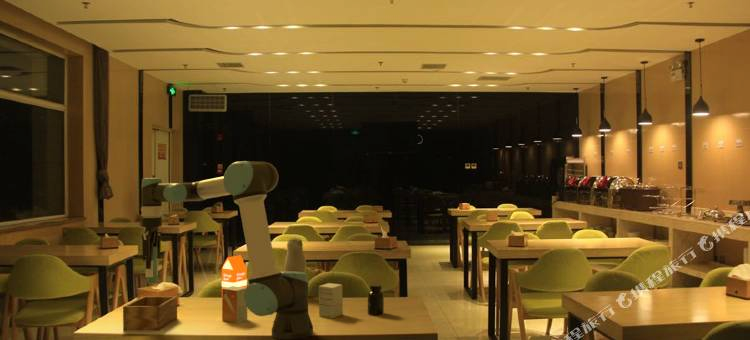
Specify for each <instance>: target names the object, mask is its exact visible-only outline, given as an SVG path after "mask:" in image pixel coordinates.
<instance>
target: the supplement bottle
mask: <svg viewBox="0 0 750 340" xmlns="http://www.w3.org/2000/svg"><path fill="white" fill-rule="evenodd" d="M382 289H383V287H382V284H378V283H375V284H374V283H372V284H370V285H369V290H370V291H368V292H367V314H368V315H369V316H382V315H383V314H384V312H385V294H384V292H383V290H382Z"/></svg>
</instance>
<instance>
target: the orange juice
mask: <svg viewBox="0 0 750 340" xmlns="http://www.w3.org/2000/svg"><path fill="white" fill-rule="evenodd" d="M247 268H248V267H247V266H246V264H245V262H244V260H243V257H242V255H241V254H238V255H236V256H235V255H233V256H229V257H227V258H226V260H225V261H224V263H223V266H222V267H221V290H222V289H223V288H227V287H231V286H235V287H243V288H247V287H248V278H247Z"/></svg>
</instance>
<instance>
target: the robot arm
mask: <svg viewBox="0 0 750 340" xmlns="http://www.w3.org/2000/svg"><path fill="white" fill-rule="evenodd" d="M278 182H279V174H278V169H277V168H276V167H275V166H274V165H273V164H272V163H270V162H266V161H249V160H248V161H247V160H242V161H241V160H240V161H235V162H232V163H231V164H230V165H229V166H228V167H227V169H226V170H225V172H224V174H223V176H219V177H214V178H209V179H208V178H207V179H204V180H199V181H195V182H193V181H192V182H163V180H162V177H161V178H160V177H143V178H142V179H141V188H140V189H141V208H140V211H141V216H142V217H141V227H142V228H145V230H144V234H141V240H142V241H141V242H142V247H141V248H142V261H143V262H144V261H145V263H144V264H145V265H144V267H145V269H144V270H145V274H144V275H145V278H146V277H153V260H152V252H153V246H156V247H157V276H158V275H159V259H161V245H162V244H161V243H162V241H161V239H162V238H161V237H162V231H161V230H160V231H159V228H160V227H162V226H163V224H162V223H163V219H162V216H163V204H162V203H169V204H179V203H182V202H201V201H205V200H207V199H212V198H213V199H214V198H219V197H223V196H229V195H231V196H232V198H233V202H234V204H236V205H238V207H239V212H240V218H241V223H242V228H243V235H244V239H245V245H246V251H247V256H248V262H249V263H248V264H249V267H250V275H248V278H247V283H248V285H247V288H246V291H245V292H244V300H245V304H246V306H247V310H249V312H251V313H253V314H254V315H255V316H259V317H266V316H270V315H273V314H275V313H276V314H275V317H274V321H273V324H272V327H271V336H272V337H273V338H274V339H278V340H302V339H305V338H309V337H311V336H313V334H314V326H313V323H312V321H311V320H312V319H311V317H310V313H309V278H308V274H307V272H306V273H304V272H294V271H285V270H279V269H278V268H277V267H276V262H275V256H274V251H273V246H272V240H271V234H270V230H269V229H270V227H269V223H268V219H267V212H266V208H265V207H266V206H265V199H266V198H267V196H268V194H267V193H269V192H271V191H273V190H274V189H275V187H277V185H278Z"/></svg>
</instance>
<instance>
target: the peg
mask: <svg viewBox="0 0 750 340" xmlns="http://www.w3.org/2000/svg"><path fill="white" fill-rule="evenodd" d="M152 260H153V277H145V283H146V284H156V283H158V275H157V247H156V246H153V252H152Z"/></svg>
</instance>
